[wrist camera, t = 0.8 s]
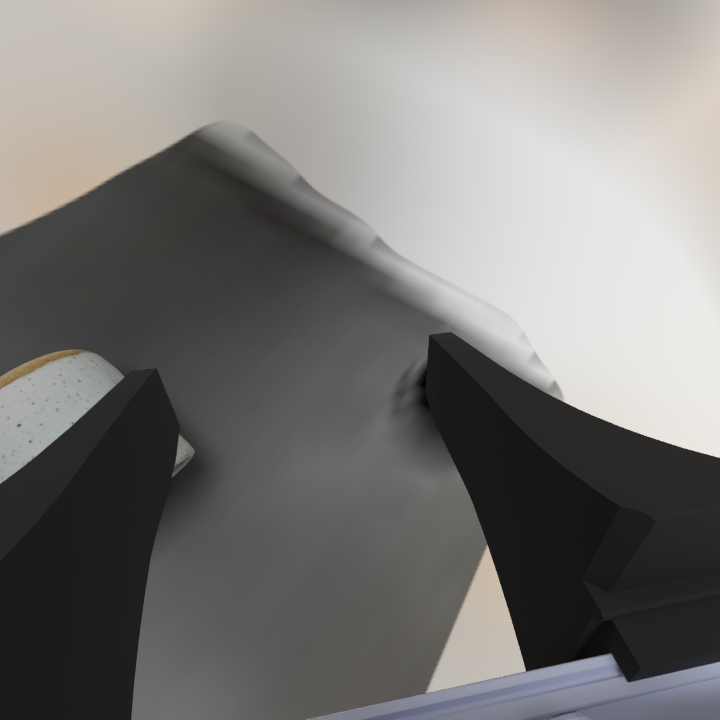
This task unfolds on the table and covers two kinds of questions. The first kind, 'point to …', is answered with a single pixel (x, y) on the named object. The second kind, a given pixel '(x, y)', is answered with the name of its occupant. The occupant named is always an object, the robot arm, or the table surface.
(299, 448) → the table surface
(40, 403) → the ceramic mug
